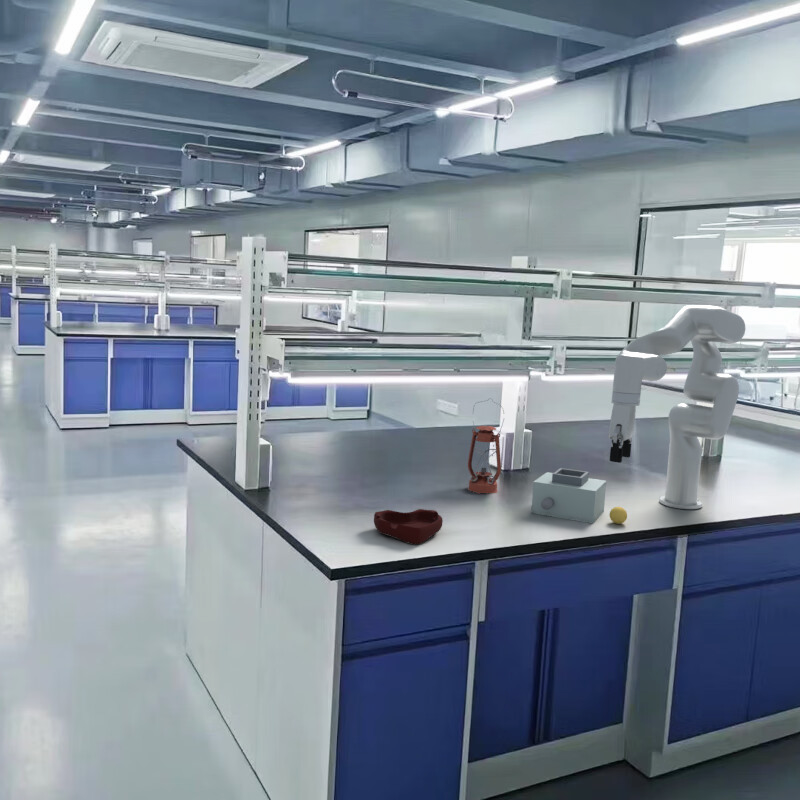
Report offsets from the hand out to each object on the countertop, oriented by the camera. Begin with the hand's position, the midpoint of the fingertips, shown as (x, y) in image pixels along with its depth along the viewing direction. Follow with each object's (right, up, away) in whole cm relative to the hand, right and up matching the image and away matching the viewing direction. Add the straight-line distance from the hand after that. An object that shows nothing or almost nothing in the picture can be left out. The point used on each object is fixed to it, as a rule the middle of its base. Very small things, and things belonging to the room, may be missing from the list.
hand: (619, 459), depth 218 cm
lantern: (-35, -13, +33) cm, 50 cm away
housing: (-13, -17, +10) cm, 23 cm away
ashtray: (-59, -19, -15) cm, 64 cm away
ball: (0, -16, +2) cm, 16 cm away
